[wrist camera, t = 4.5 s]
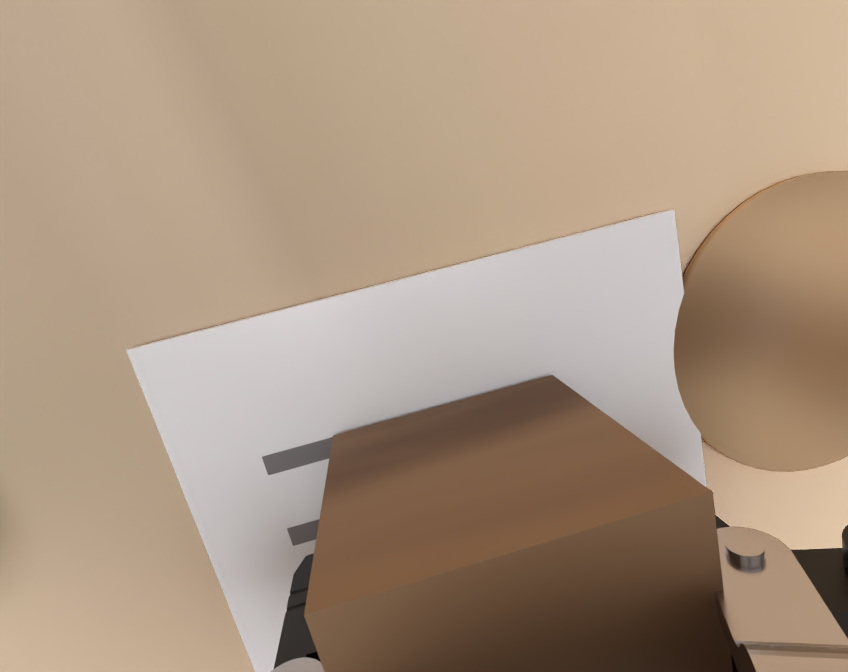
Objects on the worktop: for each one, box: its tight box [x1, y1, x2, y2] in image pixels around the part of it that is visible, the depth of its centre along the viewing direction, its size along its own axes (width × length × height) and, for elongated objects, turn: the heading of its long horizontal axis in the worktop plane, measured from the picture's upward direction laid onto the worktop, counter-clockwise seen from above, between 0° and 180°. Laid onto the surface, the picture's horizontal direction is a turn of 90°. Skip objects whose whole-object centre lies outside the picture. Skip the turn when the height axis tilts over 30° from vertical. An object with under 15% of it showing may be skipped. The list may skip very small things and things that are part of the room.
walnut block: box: [304, 375, 733, 672], centre depth 9 cm, size 6×6×6 cm
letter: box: [126, 210, 707, 672], centre depth 12 cm, size 12×13×1 cm
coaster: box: [674, 171, 848, 472], centre depth 13 cm, size 8×8×1 cm
